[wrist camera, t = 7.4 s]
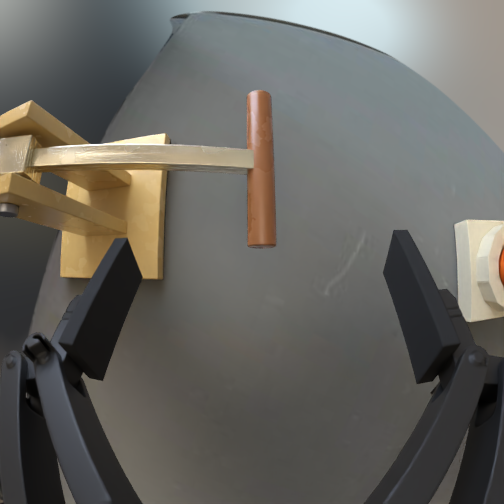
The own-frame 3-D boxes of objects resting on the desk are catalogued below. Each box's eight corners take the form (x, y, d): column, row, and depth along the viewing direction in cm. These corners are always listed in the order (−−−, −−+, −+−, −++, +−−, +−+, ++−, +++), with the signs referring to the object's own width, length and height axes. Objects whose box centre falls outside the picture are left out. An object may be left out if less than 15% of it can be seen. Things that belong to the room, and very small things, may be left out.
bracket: (170, 138, 24) (90, 34, 11) (163, 279, 23) (37, 270, 9) (79, 154, 25) (-17, 90, 12) (68, 277, 24) (-56, 267, 10)
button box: (512, 226, 21) (538, 218, 17) (516, 310, 20) (543, 311, 16) (453, 224, 21) (479, 214, 17) (457, 320, 20) (483, 324, 17)
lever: (265, 108, 18) (276, 87, 15) (268, 249, 17) (283, 244, 14) (24, 108, 14) (11, 89, 11) (-4, 245, 13) (-25, 239, 10)
